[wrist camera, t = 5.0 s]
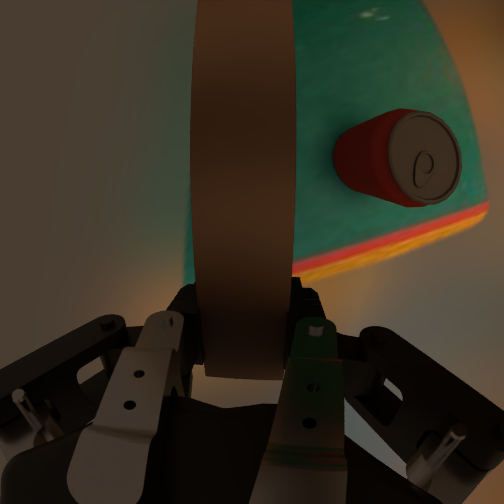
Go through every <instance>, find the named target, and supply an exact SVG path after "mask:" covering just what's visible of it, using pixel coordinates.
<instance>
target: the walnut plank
mask: <svg viewBox="0 0 504 504" xmlns="http://www.w3.org/2000/svg"><path fill="white" fill-rule="evenodd" d="M190 124H191V125H190V176H191V212H192V234H193V252H194V267H195V281H196V293H197V304H198V308H200V316H201V327H202V336H203V345H204V354H205V360H204V367H205V375H206V376H210V377H222V378H235V379H254V380H283V375H284V370H283V357H284V346H285V334H286V321H287V311H289V307H290V293H291V278H292V261H293V242H294V219H295V187H296V72H295V44H294V24H293V7H292V0H198V4H197V14H196V24H195V36H194V49H193V65H192V86H191V121H190Z"/></svg>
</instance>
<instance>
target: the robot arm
mask: <svg viewBox="0 0 504 504" xmlns="http://www.w3.org/2000/svg"><path fill="white" fill-rule="evenodd" d="M336 331H337V330H336V326H335V324H334V323H333V322H332V321H330V320H328V319H326V317H325V313H324V311H323V307H322V305H321V302H320V299H319V296H318V293H317V292H315V291H314V290H313V289H312V288H302V285H301V281H300V277H292V278H291V293H290V307H289V311H287V321H286V334H285V346H284V357H283V370H285V374H284V379H283V384H282V388H281V392H280V397H279V401H278V404H258V405H250V406H243V407H234V408H220V407H217V406H214V405H210V404H207V403H204V402H201V401H197V400H195V399H192V398H191V392H192V379H193V375H192V368H193V365H194V364H198V365H203V363H204V360H205V354H204V345H203V336H202V327H201V316H200V308H198V304H197V293H196V281H195V283H194V284H188V285H186V286H184V287H182V288H181V289H180V290H179V292H178V293H177V295H176V296H175V298H174V300H173V301H172V302H171V303H170V305H169V306H168V308H167V310H166V311H160V312H156V313H154V314H152V315H150V316H149V317H148V318H147V320H146V322H145V324H144V326H135V327H126V323H125V320H124V318H123V317H121V316H119V315H114V314H110V315H104V316H101V317H98V318H96V319H94V320H93V321H90V322H89V323H87V324H85V325H83V326H81V327H79V328H77V329H75V330H73V331H71V332H69V333H68V334H66V335H64V336H62V337H60V338H58V339H56V340H54V341H52V342H50V343H49V344H47V345H45V346H43V347H41V348H39V349H37V350H36V351H34V352H32V353H30V354H28V355H26V356H24V357H22V358H21V359H19V360H17V361H15V362H13V363H11V364H10V365H8V366H6V367H4V368H2V369H0V448H1V450H2V452H3V454H4V456H5V458H6V459H7V461H8V463H7V464H6V466H5V468H4V470H3V473H2V477H1V496H0V504H462V503H463V502H464V501H465V500H466V498H467V497H468V496H469V495H470V494H471V492H472V491H473V490H474V489H475V488H476V487H477V485H478V484H479V483H480V482H481V480H482V479H484V478H485V477H486V476H487V475H488V474H489V473H490V472H491V471H492V470H493V469H495V468H496V466H498V465H499V464H500V463H501V462H502V461H503V460H504V411H503V410H502V409H500V408H499V407H498V406H496V405H495V404H494V403H492V402H491V401H489V400H488V399H487V398H486V397H484V396H483V395H481V394H480V393H479V392H477V391H476V390H475V389H473V388H472V387H470V386H469V385H468V384H466V383H465V382H463V381H462V380H461V379H459V378H458V377H457V376H455V375H454V374H452V373H451V372H449V371H448V370H447V369H446V368H444V367H443V366H441V365H440V364H438V363H437V362H436V361H434V360H433V359H431V358H430V357H429V356H427V355H426V354H424V353H423V352H422V351H420V350H419V349H417V348H416V347H415V346H413V345H412V344H410V343H409V342H407V341H406V340H404V339H403V338H402V337H400V336H399V335H397V334H396V333H395V332H393V331H392V330H390V329H387V328H384V327H380V326H371V327H366V328H364V329H363V330H362V331H361V332H360V335H359V337H354V336H347V335H343V334H340V333H338V332H336ZM99 356H100V359H101V361H102V364H103V367H104V369H103V370H102V371H100V372H99V373H97V374H96V375H94V376H93V377H91V378H89V379H88V380H86V381H85V382H83V383H82V384H80V385H79V383H78V381H77V372H78V370H79V369H80V368H81V367H83V366H85V365H86V364H88V363H89V362H91V361H93V360H94V359H96V358H98V357H99ZM386 378H387V379H388V380H389V381H390V382H392V383H393V384H394V385H395V386H396V387H397V388H398V389H399V390H400V391H401V393H402V396H403V401H401V400H400V399H399V398H398V397H397V396H396V395H395V394H394V393H392V392H391V391H390V390H389V389H388V388H387V387H386V386H385V385H384V382H385V379H386ZM344 398H345V399H346V401H347V402H348V403H349V404H350V405H351V406H352V407H353V408H354V409H355V410H356V412H357V413H358V414H359V415H360V416H361V417H362V418H363V419H364V420H365V421H366V422H367V423H368V424H369V426H370V427H371V428H372V429H373V430H374V431H375V432H376V433H377V434H378V435H379V436H380V437H381V438H382V439H383V440H384V441H385V442H386V443H387V444H388V445H389V447H390V448H391V449H392V450H393V451H394V452H395V453H396V454H397V455H398V456H399V457H400V458H401V459H402V460H403V461H404V462H405V463H406V464H407V465H406V474H407V476H408V478H407V479H406V478H404V477H402V476H401V475H399V474H398V473H396V472H395V471H394V470H392V469H391V468H389V467H388V466H386V465H385V464H384V463H382V462H381V461H379V460H378V459H376V458H375V457H374V456H372V455H371V454H370V453H368V452H367V451H366V450H364V449H363V448H362V447H360V446H359V445H358V444H356V443H355V442H354V441H352V440H351V439H350V438H349V437H347V436H346V435H345V434H344ZM94 418H95V419H94ZM93 419H94V421H93V422H91V423H89V422H90V421H91V420H93ZM87 423H89V424H87ZM86 424H87V425H86Z"/></svg>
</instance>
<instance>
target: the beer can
mask: <svg viewBox="0 0 504 504" xmlns="http://www.w3.org/2000/svg"><path fill="white" fill-rule="evenodd" d="M333 156H334V166H335V168H336V171H337V173H338V176H339V177H340V178H341V180H342V181H343V182H344V183H345V185H347V186H348V187H350V188H351V189H353V190H354V191H358V192H361V193H364V194H367V195H371V196H374V197H377V198H380V199H383V200H386V201H390V202H393V203H396V204H399V205H402V206H404V207H424V206H426V205H429V204H438V203H440V202H442V201H444V200H446V199H447V198H448V197H449V196H450V195H451V194H452V193H453V192H454V190H455V188H456V186H457V184H458V182H459V179H460V174H461V169H462V162H461V152H460V148H459V145H458V142H457V139H456V137H455V136H454V134H453V132H452V130H451V129H450V127H449V126H448V125H447V124H446V123H445V122H444V121H443V120H442V119H441V118H439V117H437V116H435V115H434V114H432V113H430V112H424V111H418V110H410V109H396V110H393V111H389V112H386V113H384V114H381V115H379V116H377V117H375V118H372V119H370V120H368V121H366V122H363V123H361V124H359V125H357V126H354V127H352V128H350V129H348V130H347V131H346V132H345V133H343V134H342V135H341V136H340V138H339V139H338V141H337V143H336V145H335V150H334V154H333Z"/></svg>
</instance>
